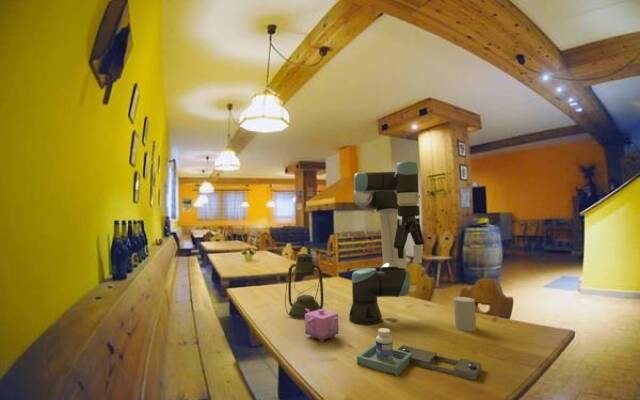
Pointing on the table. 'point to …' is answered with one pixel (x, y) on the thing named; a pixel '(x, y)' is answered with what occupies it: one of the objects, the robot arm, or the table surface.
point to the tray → (392, 368)
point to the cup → (464, 313)
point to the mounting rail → (428, 358)
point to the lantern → (303, 302)
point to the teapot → (321, 324)
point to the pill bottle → (384, 346)
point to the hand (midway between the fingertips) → (410, 265)
